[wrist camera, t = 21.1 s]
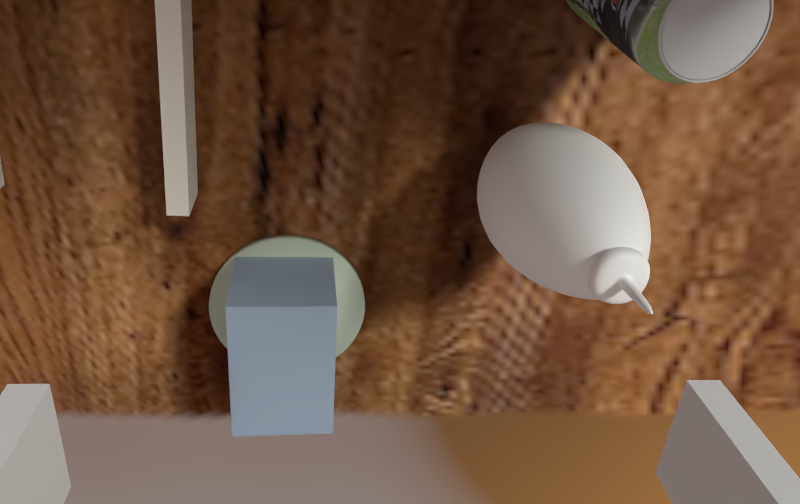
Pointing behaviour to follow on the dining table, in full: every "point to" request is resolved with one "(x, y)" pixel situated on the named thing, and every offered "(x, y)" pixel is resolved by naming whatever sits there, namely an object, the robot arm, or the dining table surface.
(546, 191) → the sauce bottle
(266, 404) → the painted block
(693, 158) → the dining table surface
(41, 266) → the dining table surface
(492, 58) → the dining table surface
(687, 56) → the beverage can
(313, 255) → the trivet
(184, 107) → the channel
